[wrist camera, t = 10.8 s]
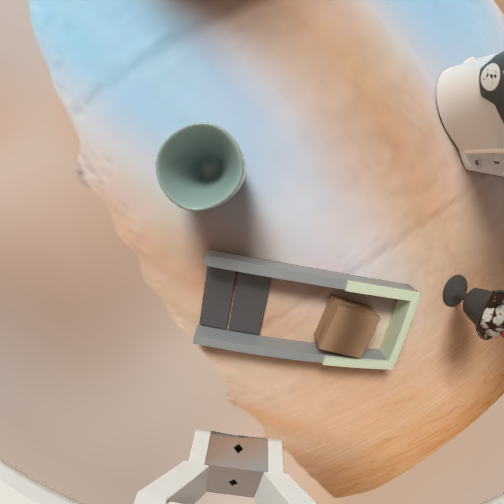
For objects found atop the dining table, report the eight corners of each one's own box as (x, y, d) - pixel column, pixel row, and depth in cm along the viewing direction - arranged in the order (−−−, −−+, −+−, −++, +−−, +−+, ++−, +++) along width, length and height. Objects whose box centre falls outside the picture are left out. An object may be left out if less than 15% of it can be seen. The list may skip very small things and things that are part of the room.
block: (369, 305, 39) (380, 317, 35) (352, 343, 40) (360, 358, 36) (330, 293, 38) (338, 305, 34) (313, 334, 40) (319, 348, 36)
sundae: (458, 316, 39) (516, 361, 24) (431, 303, 38) (492, 351, 24) (476, 278, 38) (541, 313, 23) (451, 262, 37) (520, 296, 22)
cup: (258, 184, 35) (260, 183, 25) (200, 215, 36) (180, 227, 26) (227, 127, 34) (217, 106, 24) (170, 159, 35) (140, 151, 25)
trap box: (409, 284, 38) (420, 293, 34) (383, 357, 40) (392, 369, 37) (208, 249, 37) (204, 256, 34) (197, 332, 39) (192, 345, 36)
